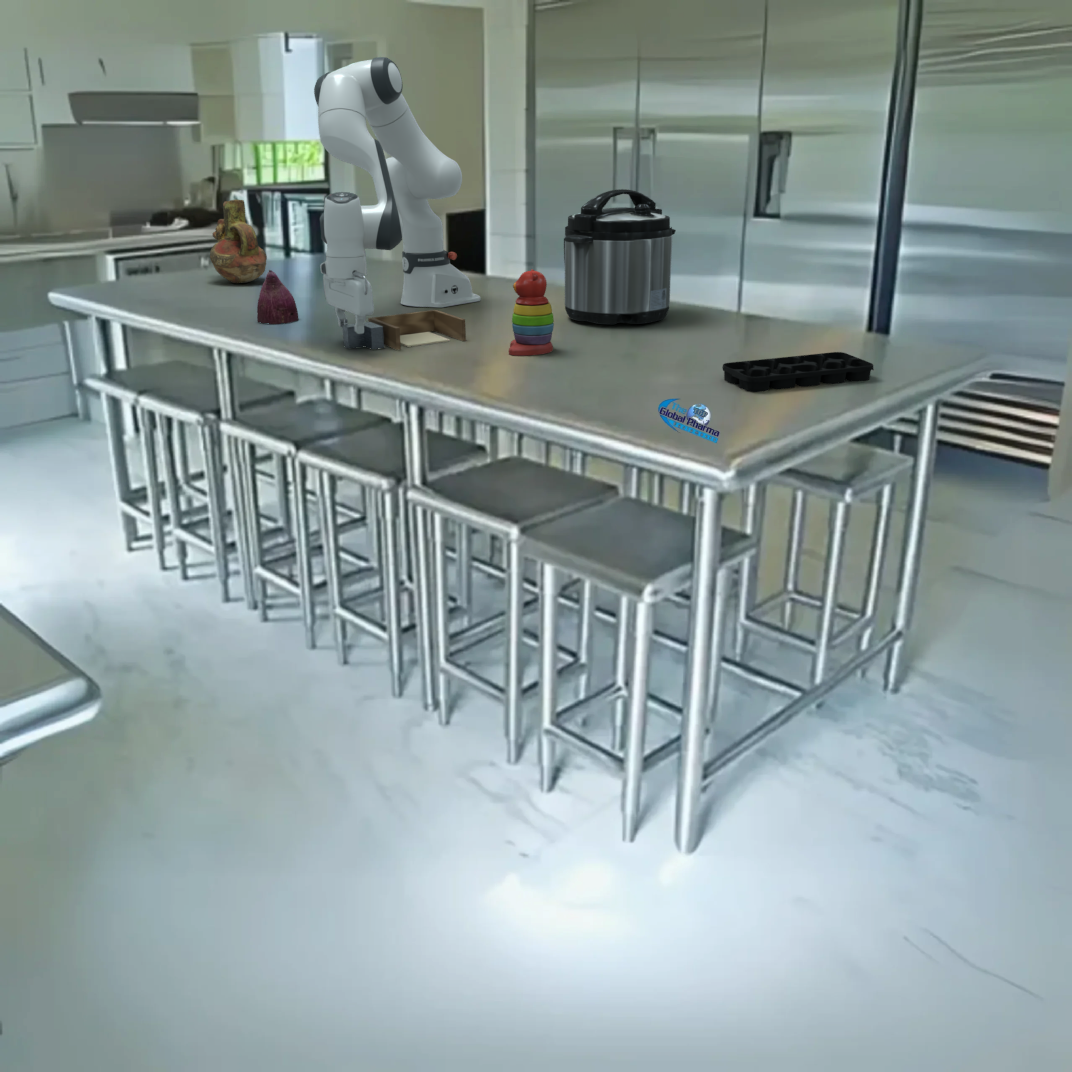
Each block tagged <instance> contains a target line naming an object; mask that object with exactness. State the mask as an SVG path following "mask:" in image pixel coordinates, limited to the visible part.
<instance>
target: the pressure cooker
mask: <svg viewBox="0 0 1072 1072" xmlns="http://www.w3.org/2000/svg"><path fill="white" fill-rule="evenodd" d="M621 195H628V196H629V198H630V199H631V202H632V204H633V206H634V207H626V206H625V207H618V206H617V207H608V208H605V207H606V205H607V204H608V203H609V201H610V200H611V199H612V198H614V197H617V196H621ZM656 206H657V203H656V202H655V201H654V200H653V199H651V198H650V197H649V196H647V195H645V194H644V193H642V192H638V191H636V190H632V189H623V188H622V189H613V190H608V191H605V192H602V193H600V194H597V195H596V196H594V197H592V198H591V199H590V200H589V201H587V202H586V203H584V204H583V205H582V206H581V207H580V212H579V213H575V214H570V215H569V216H568V217H567V225H566V226H565V227H564V238H563V261H564V309H565V311H566V314H567V316H568V318H570V319H571V320H575V321H578V322H584V321H585V322H588V323H592V324H598V325H617V324H618V323H619V324H620V323H621V324H629V325H630V324H631V325H633V324H634V325H635V324H636V325H637V324H638V325H639V324H641V325H644V324H649V323H656V322H659V321H661V320H663V319H665V318H666V316H667V314H668V313H669V310H670V306H671V302H670V301H671V295H670V294H671V274H672V250H673V249H672V248H673V236H674V235H675V233H676V229H674V228H673V227H672V226H671V220H670V219H671V217H670V216H669V215H665V214H663V210H662V208H656Z"/></svg>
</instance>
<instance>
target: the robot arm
mask: <svg viewBox="0 0 1072 1072" xmlns="http://www.w3.org/2000/svg"><path fill="white" fill-rule="evenodd" d="M403 84H404V83H403V80H402V73H401V72H400V69H399V66H397V64H396V63H395V61H393V60H392V59H390V58H388V57H386V56H385V57H384V56H382V57H381V56H379V57H373V58H372V59H368V60H367V59H365V60H361V61H356V62H353V63H350V64H348V65H346V66H343V67H340V68H338V69H335V70H333V71H329V72H326V73H324V74H322V75H320V76H319V77H318V78H317V80H316V82H315V84H314V87H313V93H314V99H315V103H316V105H317V107H318V108H317V109H318V111H317V112H318V113H317V119H318V122H317V123H318V135H319V138H320V139H319V140H320V143H321V144H322V146H323V147H324V149H325V150H326V152H328V154H330V155H331V156H332V157H334V158H335V159H337V160H339V161H341V162H344V163H347V164H351V165H352V166H356V167H358V168H360V169H362V170H364V171H365V172H367V173H368V174H369V175H370V176H371V178H372V181H373V184H374V190H375V193H376V194H375V195H376V198H377V204H373V205H361V200H360V197H359V196H358V195H357V194H356V193H353V192H350V191H349V192H348V191H337V192H336V191H335V192H333V193H329V194H328V195H327V196H325V197H324V198H325V199H324V204H323V205H324V208H323V209H324V210H323V213H322V214H321V215H320V216H319V227H320V239H321V240H322V241H323V243H325V244H326V252H325V257H326V260H325V261H324V262H322V263H320V265H319V267H320V268H319V269H320V274H323V276H322V283H323V291H324V297H325V300H326V303H327V305H329V306H332V307H334V312H335V315H336V317H337V323H338V326H339V327H341V328H342V325H349V324H348V318H347V316H346V312H347V313H351V314H353V315H354V319H355V323H354V324H355V325H354V329H355V330H354V331H355V333H357V334H362V333H364V324H365V322H366V319H367V316H373V314H374V312H375V305H374V296H373V288H372V284H371V282H370V281H369V280H368V279H367V278H366V277H367V276H368V266H367V254H366V250H367V249H368V250H370V249H371V250H374V249H375V250H381V251H382V250H383V251H392V250H393V249H394V248H396V247H398V245H400V243H401V242H402V245H403V246H402V248H403V251H402V253H401V257H402V259H401V261H402V262H401V263H402V272H403V287H402V293H401V299H400V304H401V305H404V306H408V307H418V308H420V307H421V308H422V307H423V308H426V307H427V308H428V307H429V308H446V307H451V306H457V305H462V304H463V305H464V304H470V303H475V302H476V303H477V302H480V301H481V296H480V295H478V294H477V293H474V292H473V288H472V283H471V280H470V278H469V276H468V275H466V274H465V273H463V272H462V271H461V270H459V269H458V268H457V267H455V266H454V265H453V264H451V260H453V261H455V260H456V259H457V257H458V255H457V253H456V252H454V251H449V252H448V251H447V250H445V247H444V226H443V221H442V219H441V218H440V217H439V215H437V214H436V213H435V212H434V211H433V210H432V207H431V206H430V202H429V200H443V199H447V198H450V197H451V198H452V197H454V196H455V195H457V194H458V192H459V191H460V189H461V187H462V184H463V174H462V169H461V167H460V166H459V165H460V164H458V162H457V161H456V160H454V159H452V158H450V157H449V156H447V155H446V154H444V153H443V152H442V151H441V150H439V149H438V147H437V146H436V145H435V144H434V143H433V142H432V140H430V139H429V137H427V135H426V134H425V133H424V132H423V130H422V128H420V126H419V124H418V122H417V120H416V118H415V116H414V114H413V112H412V110H411V108H410V106H409V104H408V102H407V101H406V98H405V96H404V95H403V93H402V92H403ZM367 123H368V125H369V126H370V129H371V130H372V132H373V134H374V135H375V138H373V136H372V134H371V133H370V132H369V129H368V126H367ZM385 153H386V154H387V155H389V156H390V157H387V158H386V155H385Z"/></svg>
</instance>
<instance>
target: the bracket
mask: <svg viewBox="0 0 1072 1072" xmlns="http://www.w3.org/2000/svg"><path fill="white" fill-rule="evenodd" d="M355 324H356V323H349V324H348V325H342V327H341V329H342V338H343V347H344V346H345V347H344V348H346V349H348V348H354V349H357V348H356V347H361V348H364V347H363V346H366V347H365V348H367V347H368V348H367V349H369V348H371V349H376V350H379V349H378V348H383V349H385V345H384V335H383V326H380V325H377V324H375V323H372V322H368V321H365V324H364V333H362V334H357V333H355V331H354V330H355V329H354V325H355ZM371 349H370V350H371Z"/></svg>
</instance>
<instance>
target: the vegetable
mask: <svg viewBox="0 0 1072 1072" xmlns="http://www.w3.org/2000/svg"><path fill="white" fill-rule="evenodd" d="M260 288H261V289H260V292H259V295H258V299H257V309H256V310H257V311H256V313H257V316H256V319H257V320H256V321H257V323H259V322H261V323H260V324H264V323H269V324H268V325H282V324H281V323H285V324H290V323H293V322H297V321H299V311H298V307H297V303H296V300H295V297H294V296H293V294H292V293H291V292H290V291H289V289H288V287H286V285H285V284H284V283H283V282H282V281H281V279H280V278H279V276H278V275H277V274H276V273H275V272H274V271H273V270H271V269H268V272H267V273H266V276H265V280H264V282H263V283H262V286H261V287H260Z"/></svg>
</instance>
